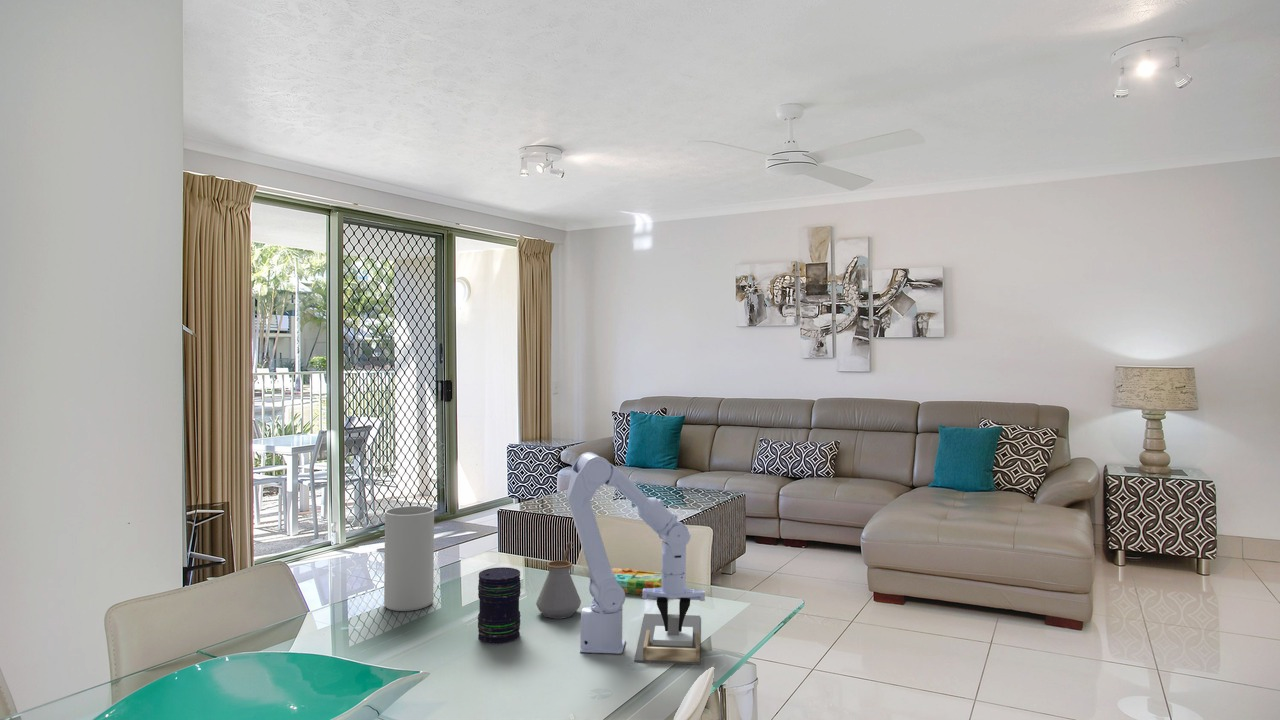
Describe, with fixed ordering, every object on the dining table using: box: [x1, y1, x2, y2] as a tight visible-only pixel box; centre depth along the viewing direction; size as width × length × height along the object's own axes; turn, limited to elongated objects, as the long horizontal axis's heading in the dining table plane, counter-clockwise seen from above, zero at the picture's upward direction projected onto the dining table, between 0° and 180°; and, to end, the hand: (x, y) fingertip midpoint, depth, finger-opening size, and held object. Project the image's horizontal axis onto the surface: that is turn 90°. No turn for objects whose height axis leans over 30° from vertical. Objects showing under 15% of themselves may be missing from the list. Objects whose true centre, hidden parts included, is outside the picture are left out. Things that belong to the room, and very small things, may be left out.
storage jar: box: [477, 566, 522, 645], centre depth 173 cm, size 10×10×15 cm
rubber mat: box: [633, 613, 701, 666], centre depth 173 cm, size 14×30×1 cm, turn 175°
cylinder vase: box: [383, 505, 435, 612], centre depth 196 cm, size 12×12×25 cm
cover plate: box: [653, 613, 693, 646], centre depth 172 cm, size 9×9×5 cm
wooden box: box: [643, 630, 701, 662], centre depth 164 cm, size 12×11×3 cm
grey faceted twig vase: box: [535, 541, 582, 620], centre depth 194 cm, size 21×12×15 cm, turn 174°
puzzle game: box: [611, 567, 662, 595], centre depth 211 cm, size 12×5×20 cm
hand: (673, 630), depth 172 cm, fingers closed on cover plate, 2 cm apart
